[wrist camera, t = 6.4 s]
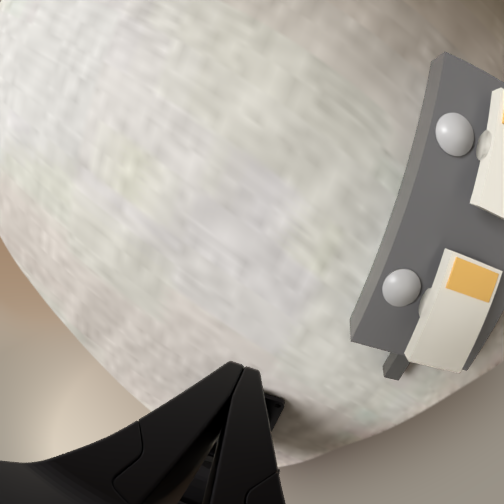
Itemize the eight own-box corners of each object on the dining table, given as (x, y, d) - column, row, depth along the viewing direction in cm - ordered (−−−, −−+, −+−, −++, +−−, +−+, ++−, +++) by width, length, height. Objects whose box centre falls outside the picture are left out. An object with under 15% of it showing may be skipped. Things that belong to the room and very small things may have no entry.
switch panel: (437, 379, 20) (444, 403, 17) (333, 353, 21) (332, 378, 19) (543, 124, 12) (566, 125, 10) (431, 61, 13) (446, 50, 11)
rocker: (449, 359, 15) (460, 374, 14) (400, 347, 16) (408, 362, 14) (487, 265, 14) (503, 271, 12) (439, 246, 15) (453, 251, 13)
